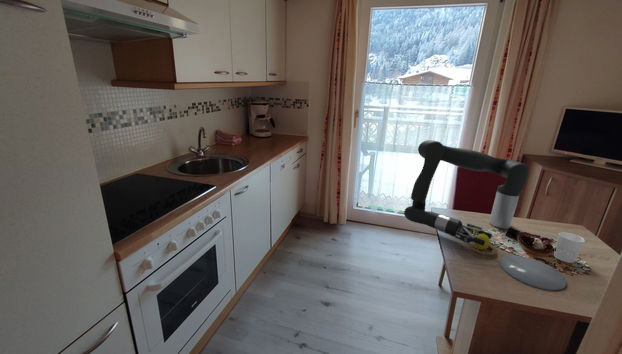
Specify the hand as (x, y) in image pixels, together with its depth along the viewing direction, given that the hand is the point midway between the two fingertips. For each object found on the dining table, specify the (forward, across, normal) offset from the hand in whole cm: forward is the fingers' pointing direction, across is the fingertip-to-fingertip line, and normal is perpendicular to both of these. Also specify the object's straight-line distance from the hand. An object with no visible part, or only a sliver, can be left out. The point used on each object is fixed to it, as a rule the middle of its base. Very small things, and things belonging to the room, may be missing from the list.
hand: (487, 239), depth 116 cm
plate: (+16, -1, +6) cm, 17 cm away
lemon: (-2, 0, +6) cm, 6 cm away
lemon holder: (0, 0, +6) cm, 6 cm away
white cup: (+23, +22, +6) cm, 32 cm away
